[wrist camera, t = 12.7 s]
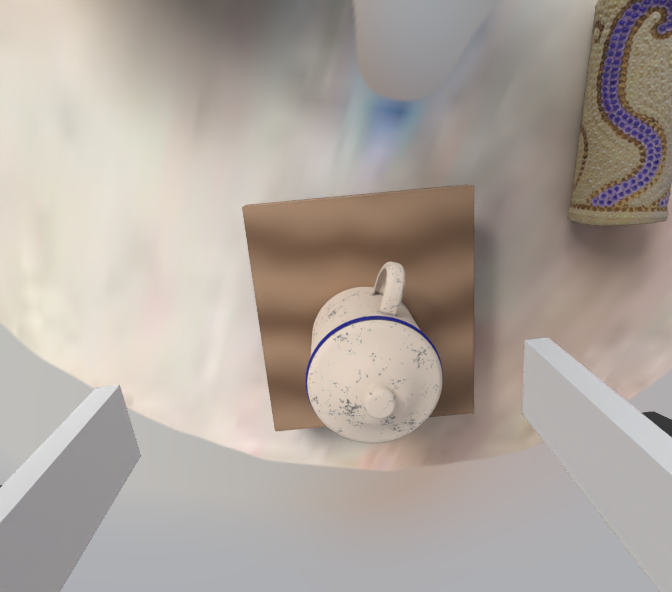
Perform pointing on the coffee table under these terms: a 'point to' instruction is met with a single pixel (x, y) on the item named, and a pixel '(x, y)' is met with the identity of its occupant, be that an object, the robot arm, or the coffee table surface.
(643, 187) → the decorative bottle
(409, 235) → the walnut stand
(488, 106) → the coffee table surface
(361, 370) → the teacup with lid
